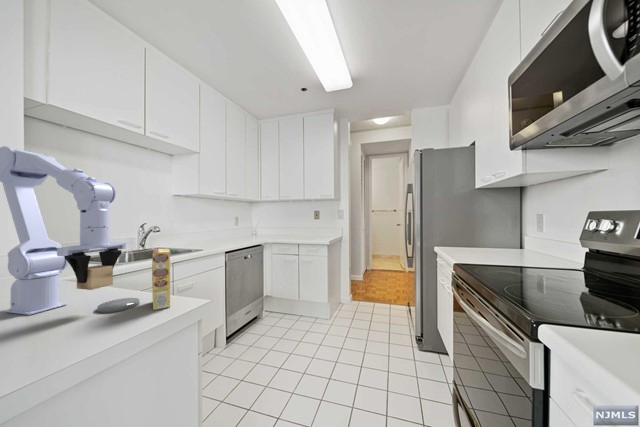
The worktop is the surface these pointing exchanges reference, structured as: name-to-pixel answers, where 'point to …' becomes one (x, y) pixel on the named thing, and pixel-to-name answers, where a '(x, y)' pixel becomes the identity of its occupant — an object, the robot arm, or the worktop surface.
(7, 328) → the worktop surface
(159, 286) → the candy box
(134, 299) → the slate coaster
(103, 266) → the oak cube
